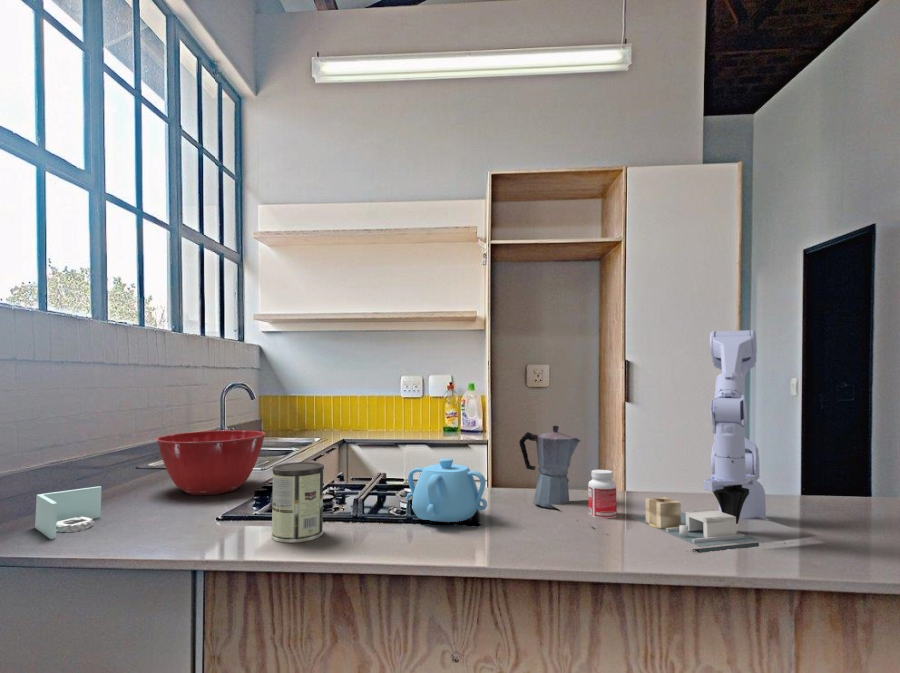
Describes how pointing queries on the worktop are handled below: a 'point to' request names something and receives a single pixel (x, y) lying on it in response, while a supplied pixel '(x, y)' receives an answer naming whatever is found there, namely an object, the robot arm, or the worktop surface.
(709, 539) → the board
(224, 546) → the worktop surface
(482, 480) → the decorative pot
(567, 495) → the moka pot
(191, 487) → the mixing bowl
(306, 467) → the coffee can
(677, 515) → the collar
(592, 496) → the pill bottle
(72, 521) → the right angle wall
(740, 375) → the robot arm
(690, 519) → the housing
